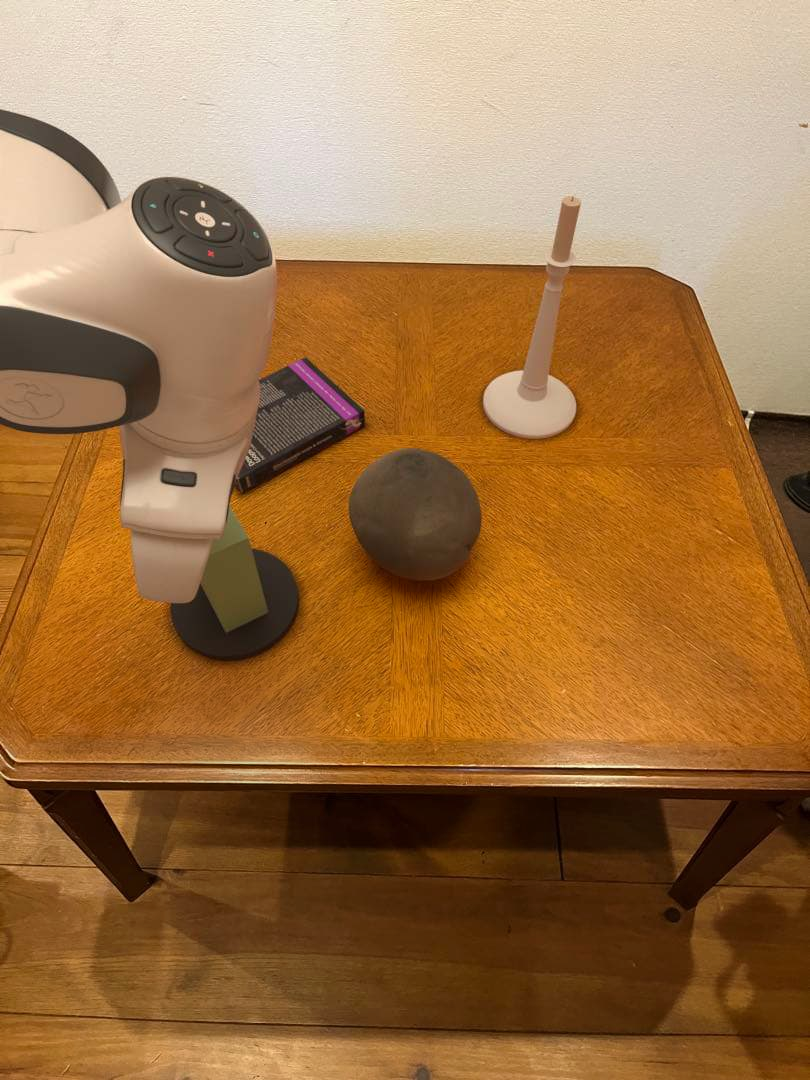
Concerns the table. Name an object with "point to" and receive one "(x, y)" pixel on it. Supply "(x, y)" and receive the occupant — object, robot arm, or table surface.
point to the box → (296, 421)
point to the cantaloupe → (415, 514)
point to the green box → (233, 578)
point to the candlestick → (539, 355)
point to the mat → (252, 638)
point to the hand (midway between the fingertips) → (179, 520)
